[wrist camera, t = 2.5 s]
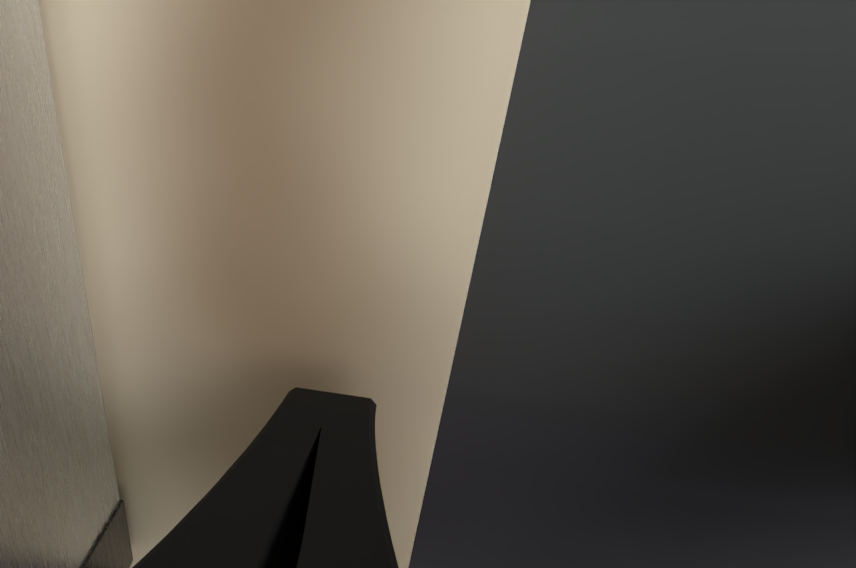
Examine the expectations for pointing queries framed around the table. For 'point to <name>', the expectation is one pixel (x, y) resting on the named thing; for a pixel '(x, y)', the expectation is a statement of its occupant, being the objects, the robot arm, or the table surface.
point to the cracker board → (275, 220)
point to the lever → (46, 337)
